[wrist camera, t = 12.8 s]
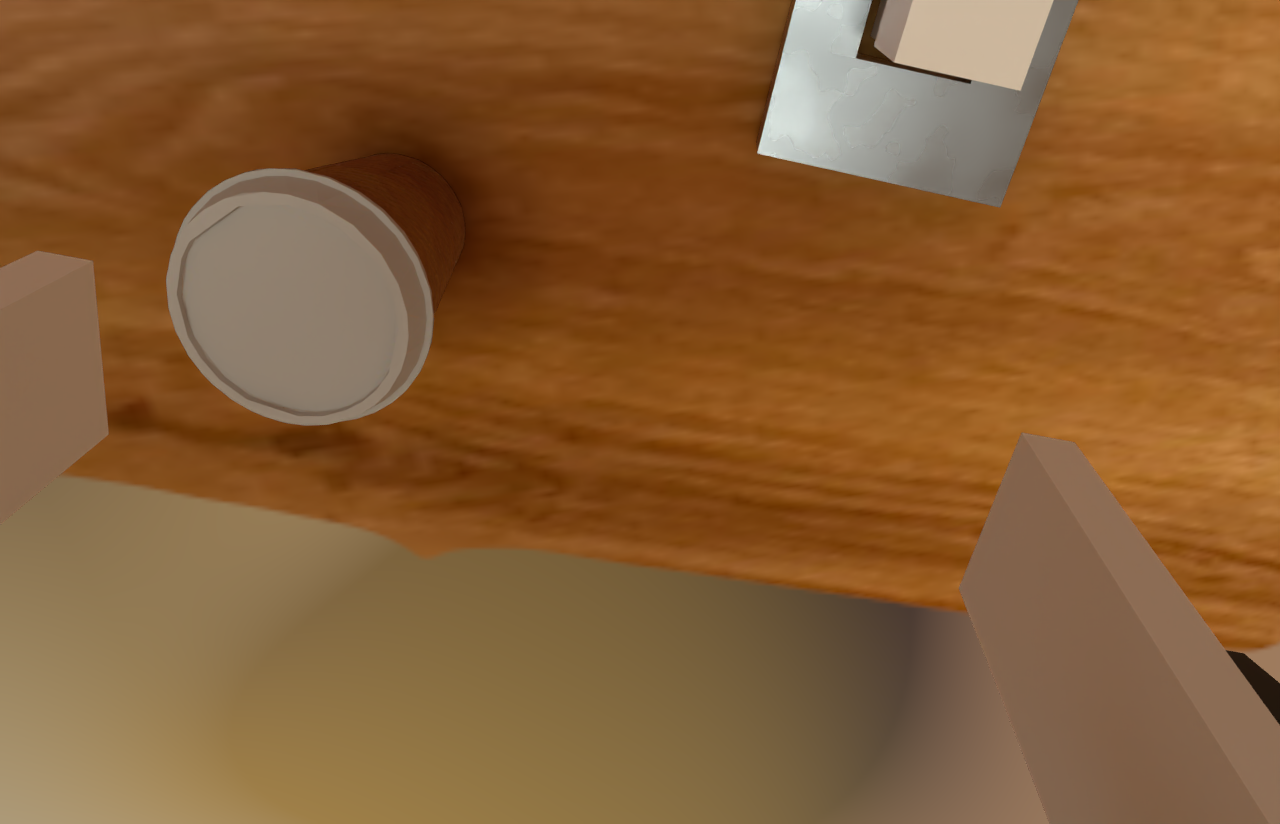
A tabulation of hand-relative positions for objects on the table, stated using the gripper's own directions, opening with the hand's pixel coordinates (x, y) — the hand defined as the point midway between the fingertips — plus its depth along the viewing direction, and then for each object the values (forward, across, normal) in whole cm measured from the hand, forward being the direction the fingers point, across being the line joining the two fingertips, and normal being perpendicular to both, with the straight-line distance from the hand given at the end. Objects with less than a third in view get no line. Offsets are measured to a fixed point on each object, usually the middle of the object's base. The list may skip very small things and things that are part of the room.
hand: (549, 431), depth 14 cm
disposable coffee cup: (+30, -11, -7) cm, 33 cm away
